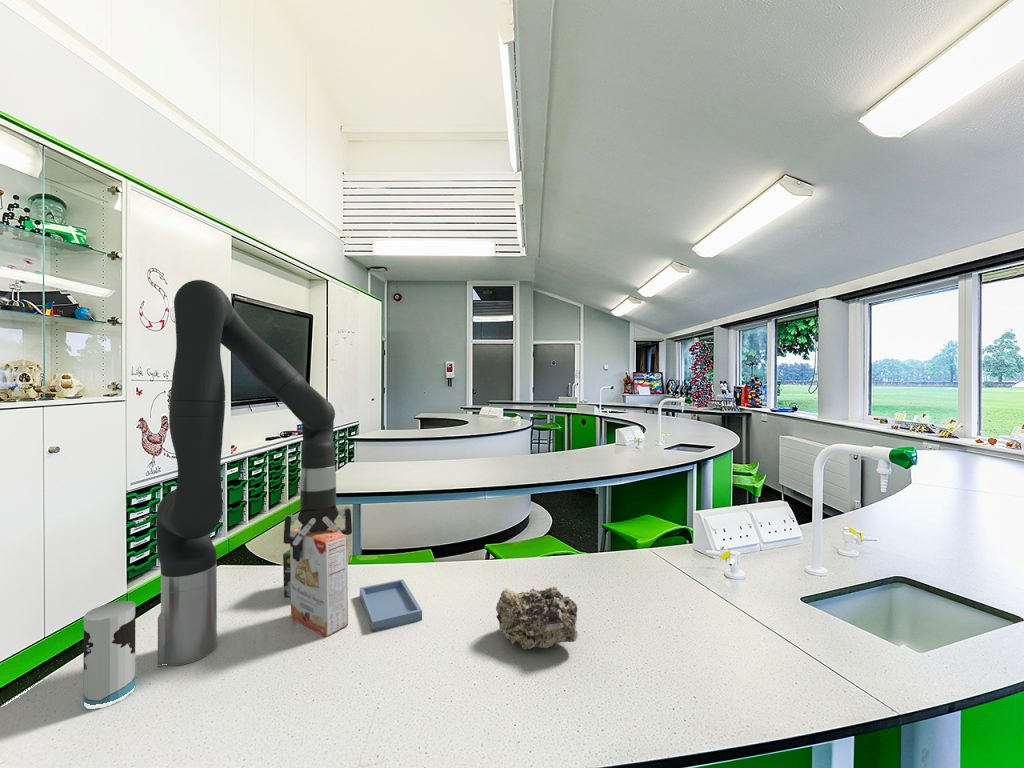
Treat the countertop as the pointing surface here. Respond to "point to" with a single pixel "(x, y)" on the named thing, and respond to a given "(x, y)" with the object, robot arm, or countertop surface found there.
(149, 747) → the countertop surface
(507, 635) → the mineral specimen
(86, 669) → the white cylindrical canister
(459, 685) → the countertop surface
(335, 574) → the cracker box
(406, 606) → the tray
